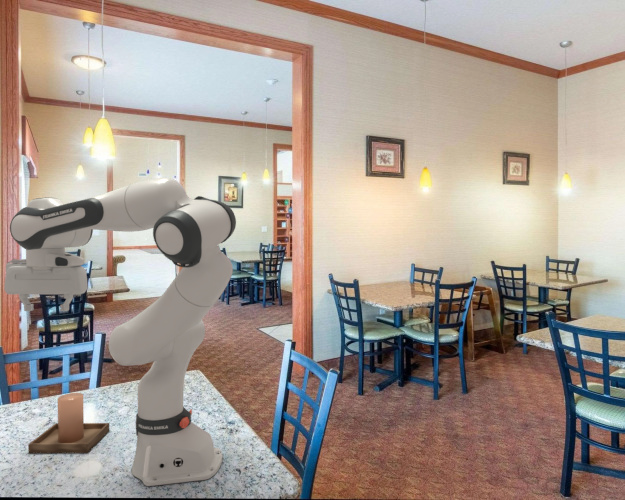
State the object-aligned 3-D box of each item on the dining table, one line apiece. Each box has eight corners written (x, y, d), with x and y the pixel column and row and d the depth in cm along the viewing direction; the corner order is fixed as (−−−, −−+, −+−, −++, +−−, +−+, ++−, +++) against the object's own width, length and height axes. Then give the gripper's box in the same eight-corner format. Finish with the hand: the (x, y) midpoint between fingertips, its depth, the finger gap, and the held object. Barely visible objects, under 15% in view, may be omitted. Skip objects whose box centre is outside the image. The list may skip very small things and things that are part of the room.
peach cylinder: (88, 433, 127) (87, 392, 126) (76, 443, 120) (75, 401, 120) (66, 432, 127) (65, 392, 126) (53, 443, 120) (52, 401, 120)
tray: (109, 431, 130) (109, 423, 130) (88, 453, 117) (87, 444, 117) (55, 431, 130) (55, 423, 130) (28, 453, 117) (28, 444, 117)
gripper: (-3, 259, 111) (-1, 313, 112) (77, 260, 112) (78, 313, 112) (14, 258, 117) (15, 308, 118) (90, 258, 118) (90, 308, 118)
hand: (46, 310), depth 115 cm, fingers open, 8 cm apart
